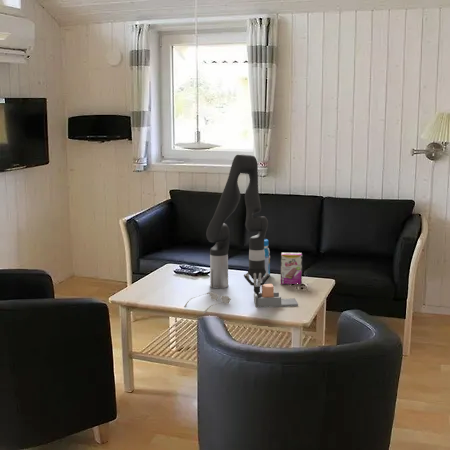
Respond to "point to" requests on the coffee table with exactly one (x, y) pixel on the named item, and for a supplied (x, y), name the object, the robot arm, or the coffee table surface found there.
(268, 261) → the beverage bottle
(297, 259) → the candy bar box
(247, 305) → the coffee table surface
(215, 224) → the robot arm
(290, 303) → the chute
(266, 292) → the block
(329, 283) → the coffee table surface
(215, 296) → the eyeglasses
